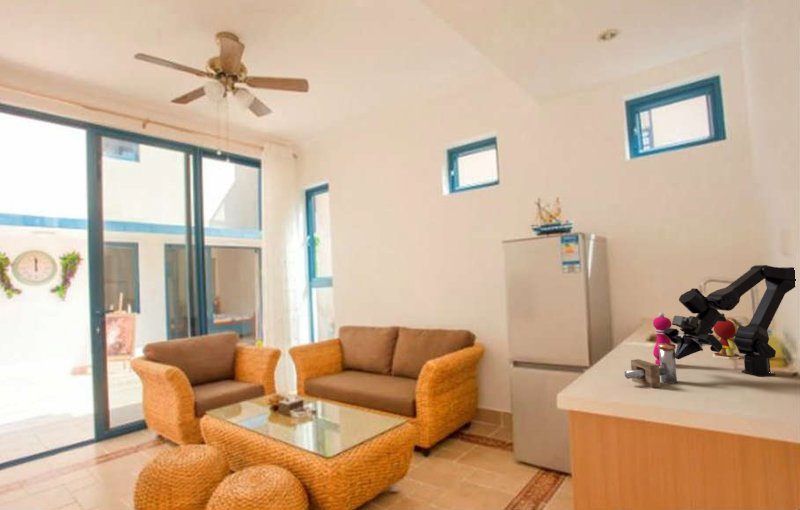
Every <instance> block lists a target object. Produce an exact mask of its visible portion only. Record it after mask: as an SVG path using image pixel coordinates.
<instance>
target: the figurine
mask: <svg viewBox="0 0 800 510" xmlns="http://www.w3.org/2000/svg"><path fill="white" fill-rule="evenodd" d="M737 330H738V325H737V324H736V323H735V322H734V321H733V320H731V319H727V318H726V322H721V321H718V322H717V323H716V324H715V326H714V327H713V331H714V332H713V333H714V334H715V335H716V336H718V337H719V338H717V339H718V340H719V341H720V342H721V343H722V347H723V348H722V350H721V351H720V352H713V353H712V357H713V358H715V359H716V358H717V359H724V360H735V359H734V358H737V357H741V356H740V355H739V354H738V353H734V351H736V349H737V346H736V345H735V342H734V341H732V339H735V336H734V335H735V334H736V332H737Z"/></svg>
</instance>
